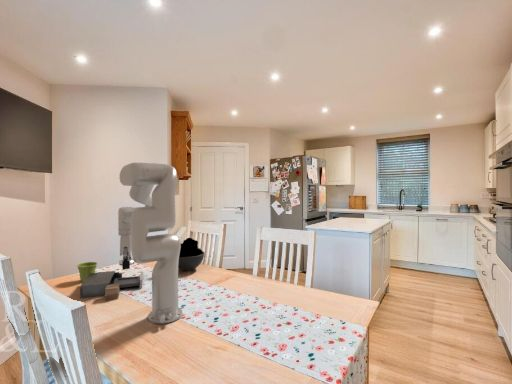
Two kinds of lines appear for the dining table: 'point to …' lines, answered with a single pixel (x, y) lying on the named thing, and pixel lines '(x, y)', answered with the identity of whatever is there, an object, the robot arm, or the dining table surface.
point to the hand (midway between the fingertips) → (126, 266)
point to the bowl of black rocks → (190, 255)
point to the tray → (129, 281)
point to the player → (98, 283)
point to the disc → (129, 260)
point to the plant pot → (86, 269)
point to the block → (112, 292)
